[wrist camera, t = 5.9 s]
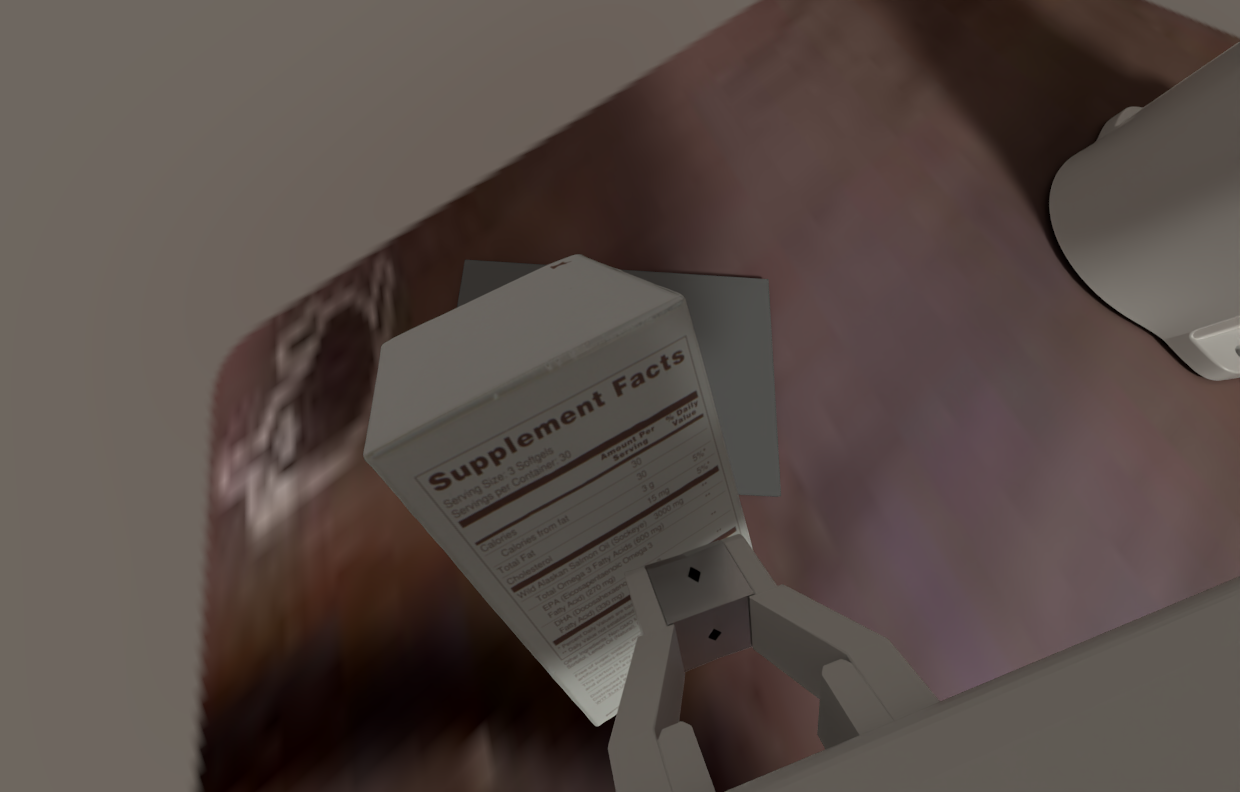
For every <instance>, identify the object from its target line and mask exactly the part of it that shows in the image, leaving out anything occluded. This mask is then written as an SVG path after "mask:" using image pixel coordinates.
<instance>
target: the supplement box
mask: <svg viewBox="0 0 1240 792" xmlns="http://www.w3.org/2000/svg"><path fill="white" fill-rule="evenodd" d="M363 456H364V459H365V461H366V462H367V463H368V464H369V465H370V466H371V467H372V468H373V469H374V470H375V471H376V472H377V474H378V475H379V476H380V477H381V478H382V479H383V480H384V482H385V483H386V484H387V485H388V486H389V487H390V489H391V490H392V491H393V492H394V493H395V494H396V495H397V497H398V498H399V499H400V500H401V501H402V503H403V504H404V505H405V506H406V508H407V509H408V510H409V511H410V512H411V514H412V515H413V516H414V517H415V518H416V519H417V520H418V521H419V522H420V523H421V524H422V526H423V527H424V528H425V529H426V531H427V532H428V533H429V534H430V535H431V536H432V538H433V539H434V540H435V541H436V542H437V543H438V544H439V545H440V546H441V548H442V549H443V550H444V551H445V552H446V553H447V554H448V556H449V557H450V558H451V559H452V561H453V562H454V563H455V564H456V566H457V567H458V568H459V569H460V570H461V571H462V573H463V574H464V575H465V576H466V577H467V579H468V580H469V581H470V582H471V583H472V585H473V586H474V587H475V588H476V589H477V590H478V592H479V593H480V594H481V595H482V596H483V598H484V599H485V600H486V601H487V602H488V603H489V605H490V606H491V607H492V608H493V609H494V610H495V612H496V613H497V614H498V615H499V616H500V617H501V618H502V620H503V621H504V622H505V623H506V624H507V625H508V626H509V628H510V629H511V630H512V631H513V632H514V634H515V635H516V636H517V637H518V638H519V639H520V641H521V642H522V643H523V644H524V645H525V646H526V647H527V648H528V650H529V651H530V652H531V653H532V654H533V656H534V657H535V658H536V659H537V660H538V661H539V662H540V663H541V665H542V666H543V667H544V668H545V669H546V670H547V671H548V673H549V674H550V675H551V676H552V678H553V679H554V680H555V681H556V682H557V683H558V684H559V685H560V686H561V688H562V689H563V690H564V691H565V692H566V693H567V695H568V696H569V697H570V698H571V699H572V700H573V701H574V702H575V703H576V704H577V706H578V707H579V708H580V709H581V710H582V711H583V712H584V714H585V715H586V716H587V717H588V718H589V719H590V721H591V722H592V723H593V724H594V725H595V726H600V725H601V724H602V723H604V722H605V721H607V720H609V719H610V718H612V717H613V716H615V715H616V714H617V712H618V708H619V704H620V701H621V697H622V693H623V689H624V686H625V682H626V678H627V675H628V671H629V667H630V663H631V660H632V656H633V652H634V649H635V645H636V641H637V637H639V636H642V635H641V632H640V629H639V626H638V622H637V619H636V615H635V612H634V608H633V604H632V601H631V597H630V593H629V590H628V586H627V582H626V579H625V575H624V572H627V571H630V570H634V569H637V568H640V567H643V566H644V567H645V565H649V564H652V563H655V562H658V561H661V560H665V559H668V558H671V557H674V556H677V555H681V554H682V553H684V552H687V551H690V550H692V549H695V548H698V547H701V546H703V545H706V544H709V543H712V542H715V541H717V540H722V539H725V538H727V537H730V536H733V535H736V534H741V535H742V536H744V538H745V539H746V541H747V542H748V544H749V545H750V547H751V548H752V544H751V540H750V537H749V533H748V529H747V525H746V522H745V518H744V514H743V510H742V507H741V503H740V499H739V496H738V492H737V488H736V484H735V480H734V477H733V473H732V469H731V465H730V461H729V457H728V454H727V450H726V446H725V442H724V438H723V434H722V430H721V426H720V423H719V419H718V415H717V412H716V408H715V404H714V400H713V396H712V392H711V388H710V385H709V381H708V377H707V374H706V370H705V366H704V363H703V359H702V355H701V352H700V348H699V344H698V341H697V337H696V334H695V330H694V327H693V323H692V320H691V316H690V313H689V309H688V306H687V302H686V299H685V298H684V296H683V295H681V294H680V293H678V292H674V291H672V290H670V289H667V288H665V287H662V286H658V285H656V284H653V283H651V282H648V281H646V280H643V279H641V278H638V277H636V276H633V275H630V274H628V273H625V272H623V271H622V270H619V269H616V268H613V267H610V266H607V265H605V264H602V263H599V262H597V261H595V260H592V259H590V258H587V257H585V256H583V255H581V254H576V255H572V256H569V257H567V258H564V259H561V260H559V261H556V262H554V263H551V264H549V265H546V266H544V267H542V268H540V269H538V270H536V271H533V272H531V273H529V274H527V275H525V276H523V277H521V278H518V279H516V280H514V281H512V282H510V283H508V284H506V285H504V286H502V287H500V288H497V289H495V290H493V291H491V292H489V293H487V294H485V295H483V296H481V297H479V298H476V299H474V300H472V301H470V302H468V303H466V304H464V305H462V306H460V307H458V308H455V309H453V310H451V311H449V312H447V313H445V314H443V315H441V316H439V317H436V318H434V319H432V320H430V321H428V322H425V323H423V324H421V325H419V326H417V327H415V328H413V329H411V330H408V331H406V332H404V333H402V334H400V335H398V336H396V337H394V338H392V339H391V340H389V341H387V342H385V343H384V344H383V345H382V346H381V351H380V359H379V365H378V372H377V377H376V383H375V389H374V395H373V401H372V407H371V413H370V419H369V424H368V430H367V436H366V442H365V447H364V452H363ZM752 550H753V548H752Z"/></svg>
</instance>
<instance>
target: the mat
mask: <svg viewBox="0 0 1240 792" xmlns="http://www.w3.org/2000/svg"><path fill="white" fill-rule="evenodd" d="M544 266H546V265H540V264H525V263H510V262H494V261H479V260H465V263H464V269H463V275H462V281H461V286H460V292H459V298H458V304H457V308H458V307H460V306H462V305H464V304H466V303H468V302H470V301H472V300H474V299H476V298H479V297H481V296H483V295H485V294H487V293H489V292H491V291H493V290H495V289H497V288H500V287H502V286H504V285H506V284H508V283H510V282H512V281H514V280H516V279H518V278H521V277H523V276H525V275H527V274H529V273H531V272H533V271H536V270H538V269H540V268H542V267H544ZM622 271H623V272H625V273H628V274H630V275H633V276H636V277H638V278H641V279H643V280H646V281H648V282H651V283H653V284H656V285H658V286H662V287H665V288H667V289H670V290H672V291H674V292H678V293H680V294H681V295H683V296H684V298H685V299H686V302H687V306H688V309H689V313H690V316H691V320H692V323H693V327H694V330H695V334H696V337H697V341H698V344H699V348H700V352H701V355H702V359H703V363H704V366H705V370H706V374H707V377H708V381H709V385H710V388H711V392H712V396H713V400H714V404H715V408H716V412H717V415H718V419H719V423H720V426H721V430H722V434H723V438H724V442H725V446H726V450H727V454H728V457H729V461H730V465H731V469H732V473H733V477H734V480H735V484H736V488H737V492H738V495H756V496H775V497H778V496H781V488H780V471H779V454H778V437H777V419H776V402H775V385H774V368H773V351H772V333H771V316H770V299H769V282H768V279H757V278H741V277H726V276H710V275H695V274H679V273H664V272H649V271H633V270H622Z"/></svg>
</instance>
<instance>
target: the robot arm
mask: <svg viewBox="0 0 1240 792" xmlns="http://www.w3.org/2000/svg"><path fill="white" fill-rule="evenodd" d="M1049 210H1050V218H1051V222H1052V227H1053V230H1054V233H1055V236H1056V238H1057V241H1058V243H1059V245H1060V247H1061V249H1062V251H1063V253H1064V254H1065V256H1066V258H1067V259H1068V261H1069V262H1070V264H1071V265H1072V267H1073V268H1074V270H1075V271H1076V272H1077V273H1078V275H1079V276H1080V277H1081V278H1082V279H1083V281H1084V282H1085V283H1086V284H1087V285H1088V286H1089V287H1090V288H1091V289H1092V290H1093V291H1094V292H1095V293H1096V294H1097V295H1098V296H1099V297H1101V298H1102V299H1103V300H1104V301H1105V302H1106V303H1108V304H1109V305H1110V306H1112V307H1113V308H1114V309H1116V310H1117V311H1118V312H1120V313H1121V314H1123V315H1124V316H1126V317H1128V318H1129V319H1131V320H1133V321H1134V322H1136V323H1138V324H1139V325H1141V326H1143V327H1145V328H1146V329H1148V330H1150V331H1151V332H1153V333H1154V334H1156V335H1157V336H1159V337H1160V338H1161V339H1163V340H1164V341H1165V342H1166V343H1167V344H1168V346H1169V347H1170V348H1171V349H1172V350H1173V351H1174V352H1175V353H1176V354H1177V355H1178V356H1179V357H1180V358H1181V359H1182V360H1183V361H1184V362H1185V363H1186V364H1187V365H1188V366H1189V367H1190V368H1192V369H1193V370H1194V371H1195V372H1197V373H1198V374H1199V375H1201V376H1203V377H1205V378H1207V379H1210V380H1226V379H1233V378H1240V42H1238V43H1237V44H1235V45H1234V46H1233V47H1231V48H1230V49H1228V50H1227V51H1225V52H1224V53H1222V54H1221V55H1219V56H1218V57H1216V58H1215V59H1213V60H1212V61H1210V62H1209V63H1208V64H1206V65H1205V66H1203V67H1202V68H1200V69H1199V70H1197V71H1196V72H1194V73H1193V74H1191V75H1190V76H1189V77H1187V78H1186V79H1184V80H1183V81H1181V82H1180V83H1178V84H1177V85H1176V86H1174V87H1173V88H1171V89H1170V90H1168V91H1167V92H1165V93H1164V94H1162V95H1161V96H1160V97H1158V98H1157V99H1155V100H1154V101H1152V102H1151V103H1149V104H1148V105H1146V106H1145V107H1144V108H1142V107H1128V108H1126V109H1124V110H1123V111H1121V112H1120V113H1118V114H1117V115H1115V116H1114V117H1112V118H1111V119H1110V120H1108V121H1107V122H1106V124H1105V125H1104V127H1103V128H1102V130H1101V132H1100V134H1099V136H1098V138H1097V141H1096V142H1094V143H1093V144H1092V145H1090V146H1088V147H1087V148H1085V149H1083V150H1082V151H1080V152H1078V153H1077V154H1075V155H1074V156H1072V157H1071V158H1070V159H1068V160H1067V161H1066V162H1065V163H1064V164H1063V165H1062V167H1061V168H1060V169H1059V171H1058V172H1057V174H1056V176H1055V178H1054V180H1053V183H1052V186H1051V191H1050V197H1049ZM624 575H625V579H626V582H627V586H628V590H629V593H630V597H631V601H632V604H633V608H634V612H635V615H636V619H637V622H638V626H639V629H640V632H641V635H642V636H639V637H637V641H636V645H635V649H634V652H633V656H632V660H631V663H630V667H629V671H628V675H627V678H626V682H625V686H624V689H623V693H622V697H621V701H620V704H619V708H618V712H617V715H616V719H615V723H614V727H613V730H612V734H611V738H610V742H609V745H608V751H609V757H610V762H611V767H612V773H613V778H614V783H615V788H616V792H715V790H714V787H713V784H712V781H711V779H710V776H709V773H708V770H707V768H706V765H705V762H704V759H703V756H702V754H701V751H700V748H699V745H698V743H697V740H696V737H695V734H694V732H693V729H692V726H691V725H689V724H687V723H684V722H682V721H681V722H679V717H680V709H681V702H682V694H683V686H684V679H685V672H686V671H688V670H691V669H693V668H696V667H698V666H700V665H703V664H705V663H708V662H710V661H713V660H715V659H717V658H720V657H723V656H726V655H729V654H732V653H735V652H738V651H741V650H743V649H746V648H749V647H752V646H753V649H754V650H755V651H757V652H758V653H759V654H761V655H762V656H763V657H765V658H766V659H767V660H769V661H770V662H771V663H773V664H774V665H775V666H777V667H778V668H779V669H781V670H782V671H783V672H784V673H786V674H787V675H788V676H790V677H791V678H792V679H794V680H795V681H796V682H798V683H799V684H800V685H802V686H803V687H804V688H806V689H807V690H808V691H809V692H811V693H812V694H813V695H815V696H816V697H817V698H819V699H820V706H819V720H818V734H817V735H818V736H819V738H820V740H821V742H822V744H823V745H824V747H825V749H826V750H823V751H821V752H818V753H816V754H814V755H811V756H809V757H807V758H804V759H802V760H799V761H797V762H795V763H792V764H790V765H787V766H785V767H783V768H780V769H778V770H775V771H773V772H771V773H768V774H766V775H764V776H761V777H759V778H756V779H754V780H752V781H749V782H747V783H744V784H742V785H740V786H737V787H735V788H732V789H730V790H728V791H725V792H1240V576H1239V577H1237V578H1234V579H1232V580H1229V581H1227V582H1225V583H1222V584H1220V585H1217V586H1215V587H1213V588H1210V589H1208V590H1206V591H1203V592H1201V593H1198V594H1196V595H1194V596H1191V597H1189V598H1186V599H1184V600H1182V601H1179V602H1177V603H1174V604H1172V605H1170V606H1167V607H1165V608H1163V609H1160V610H1158V611H1155V612H1153V613H1151V614H1148V615H1146V616H1143V617H1141V618H1139V619H1136V620H1134V621H1131V622H1129V623H1127V624H1124V625H1122V626H1120V627H1117V628H1115V629H1112V630H1110V631H1108V632H1105V633H1103V634H1100V635H1098V636H1096V637H1093V638H1091V639H1088V640H1086V641H1084V642H1081V643H1079V644H1077V645H1074V646H1072V647H1069V648H1067V649H1065V650H1062V651H1060V652H1057V653H1055V654H1053V655H1050V656H1048V657H1045V658H1043V659H1041V660H1038V661H1036V662H1033V663H1031V664H1029V665H1026V666H1024V667H1022V668H1019V669H1017V670H1014V671H1012V672H1010V673H1007V674H1005V675H1002V676H1000V677H998V678H995V679H993V680H990V681H988V682H986V683H983V684H981V685H979V686H976V687H974V688H971V689H969V690H967V691H964V692H962V693H959V694H957V695H955V696H952V697H950V698H947V699H945V700H943V701H939V700H938V699H937V697H936V696H935V695H934V694H933V693H932V691H931V690H930V689H929V688H928V687H927V685H926V684H925V683H924V682H923V681H922V679H921V678H920V677H919V676H918V675H917V673H916V672H915V671H914V670H913V669H912V667H911V666H910V665H909V664H908V663H907V661H906V660H905V659H904V658H903V657H902V655H901V654H900V653H899V652H898V651H897V649H896V648H895V647H894V646H893V645H892V643H891V642H890V641H889V640H888V639H887V638H885V637H883V636H881V635H879V634H877V633H876V632H874V631H872V630H870V629H868V628H866V627H864V626H862V625H860V624H858V623H856V622H854V621H852V620H851V619H849V618H847V617H845V616H843V615H841V614H839V613H837V612H835V611H833V610H831V609H829V608H828V607H826V606H824V605H822V604H820V603H818V602H816V601H814V600H812V599H810V598H808V597H806V596H805V595H803V594H801V593H799V592H797V591H795V590H793V589H791V588H789V587H787V586H785V585H779V586H777V585H776V584H775V582H774V581H773V579H772V578H771V576H770V575H769V573H768V572H767V570H766V569H765V567H764V566H763V564H762V563H761V562H760V560H759V559H758V557H757V556H756V554H755V553H754V551H753V550H752V548H751V547H750V545H749V544H748V542H747V541H746V539H745V538H744V536H742V535H741V534H736V535H733V536H730V537H727V538H725V539H722V540H717V541H715V542H712V543H709V544H706V545H703V546H701V547H698V548H695V549H692V550H690V551H687V552H684V553H682V554H681V555H677V556H674V557H671V558H668V559H665V560H661V561H658V562H655V563H652V564H649V565H645V567H644V566H643V567H640V568H637V569H634V570H630V571H627V572H624Z"/></svg>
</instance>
